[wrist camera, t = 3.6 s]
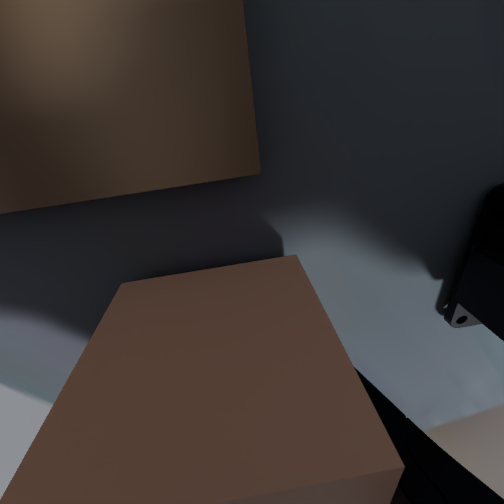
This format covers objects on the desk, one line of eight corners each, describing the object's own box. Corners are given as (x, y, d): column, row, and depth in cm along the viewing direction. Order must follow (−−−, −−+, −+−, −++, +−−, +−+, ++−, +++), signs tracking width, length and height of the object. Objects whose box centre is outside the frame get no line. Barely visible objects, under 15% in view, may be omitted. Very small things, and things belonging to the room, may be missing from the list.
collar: (296, 254, 9) (404, 466, 4) (301, 365, 12) (363, 567, 7) (121, 283, 9) (-29, 550, 3) (171, 387, 12) (132, 614, 6)
